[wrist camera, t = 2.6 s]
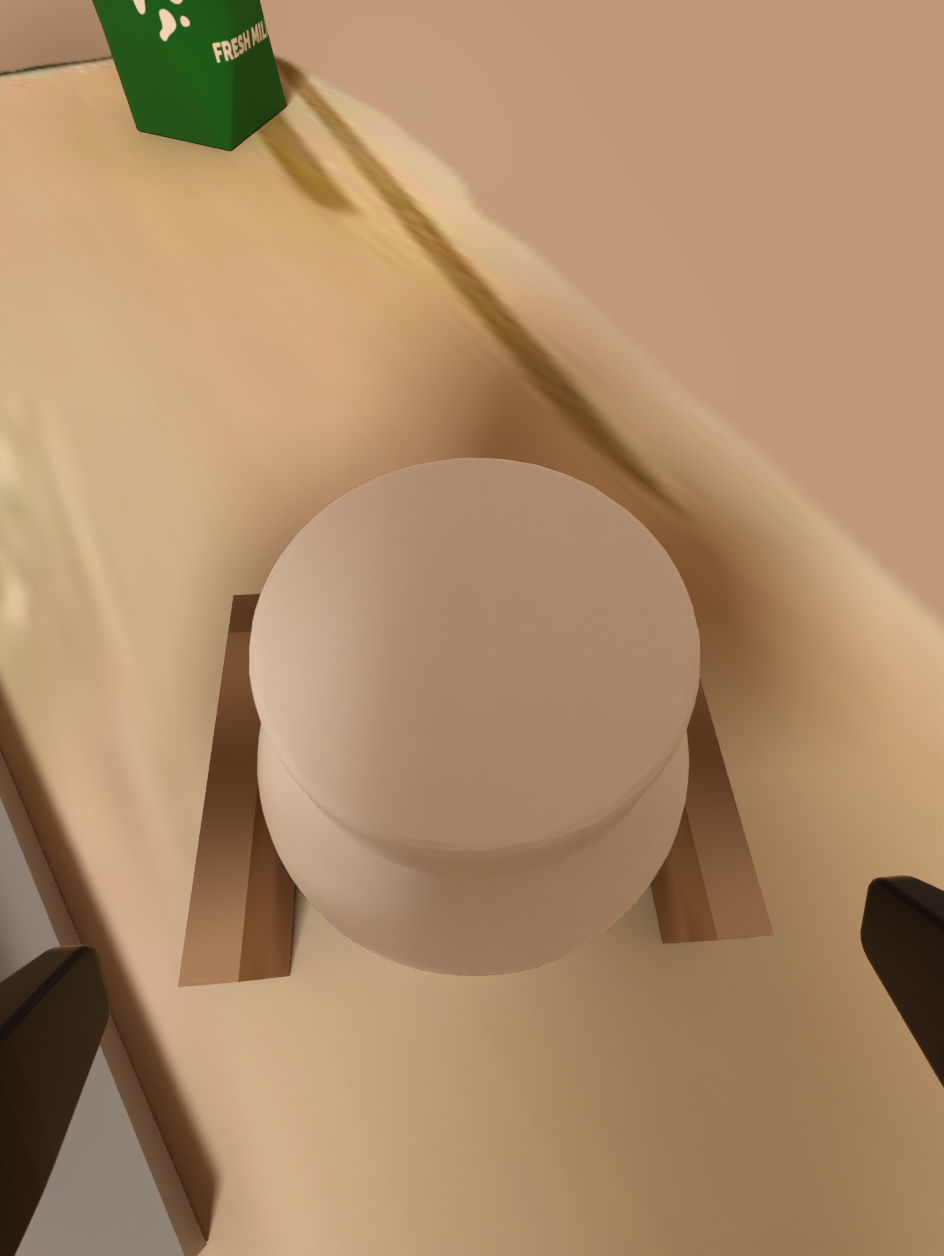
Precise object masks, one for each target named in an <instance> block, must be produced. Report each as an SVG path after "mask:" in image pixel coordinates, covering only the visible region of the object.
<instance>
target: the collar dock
mask: <svg viewBox="0 0 944 1256" xmlns="http://www.w3.org/2000/svg"><path fill="white" fill-rule="evenodd" d="M72 945H82V944H81V942H80V939H79V937H78V934H77V932H76V930H75V927H74V925H73V922H72V920H71V918H70V915H69V913H68V911H67V908H66V906H65V903H64V901H63V899H62V896H61V894H60V891H59V889H58V887H57V884H56V882H55V879H54V877H53V875H52V872H51V870H50V867H49V865H48V863H47V860H46V858H45V855H44V853H43V851H42V848H41V846H40V843H39V841H38V839H37V836H36V834H35V831H34V829H33V827H32V824H31V822H30V819H29V817H28V815H27V812H26V810H25V807H24V805H23V803H22V800H21V798H20V796H19V793H18V791H17V788H16V786H15V784H14V781H13V779H12V776H11V774H10V772H9V769H8V767H7V764H6V762H5V760H4V757H3V755H2V752H1V750H0V982H2V981H3V980H4V979H6V978H7V977H9V976H10V975H12V974H13V973H15V972H16V971H17V970H19V969H20V968H22V967H23V966H25V965H26V964H28V963H29V962H30V961H32V960H33V959H35V958H36V957H38V956H39V955H40V954H42V953H43V952H45V951H47V950H49V949H51V948H55V947H60V946H72ZM206 1245H207V1244H206V1241H205V1239H204V1236H203V1234H202V1232H201V1229H200V1227H199V1224H198V1222H197V1220H196V1217H195V1215H194V1212H193V1210H192V1208H191V1205H190V1203H189V1200H188V1198H187V1196H186V1193H185V1191H184V1188H183V1186H182V1184H181V1181H180V1179H179V1176H178V1174H177V1172H176V1169H175V1167H174V1164H173V1162H172V1160H171V1157H170V1155H169V1152H168V1150H167V1148H166V1145H165V1143H164V1141H163V1138H162V1136H161V1133H160V1131H159V1129H158V1126H157V1124H156V1121H155V1119H154V1117H153V1114H152V1112H151V1109H150V1107H149V1105H148V1102H147V1100H146V1097H145V1095H144V1093H143V1090H142V1088H141V1085H140V1083H139V1081H138V1078H137V1076H136V1073H135V1071H134V1069H133V1066H132V1064H131V1061H130V1059H129V1057H128V1054H127V1052H126V1049H125V1047H124V1045H123V1042H122V1040H121V1037H120V1035H119V1033H118V1030H117V1028H116V1026H115V1023H114V1021H113V1018H112V1016H111V1014H110V1015H109V1020H108V1024H107V1027H106V1030H105V1032H104V1035H103V1038H102V1040H101V1043H100V1046H99V1048H98V1051H97V1054H96V1056H95V1059H94V1062H93V1064H92V1067H91V1070H90V1072H89V1075H88V1078H87V1080H86V1083H85V1086H84V1088H83V1091H82V1094H81V1096H80V1099H79V1102H78V1104H77V1107H76V1110H75V1112H74V1115H73V1118H72V1120H71V1123H70V1126H69V1128H68V1131H67V1134H66V1136H65V1139H64V1142H63V1144H62V1147H61V1150H60V1152H59V1155H58V1158H57V1161H56V1163H55V1166H54V1168H53V1171H52V1173H51V1176H50V1178H49V1181H48V1183H47V1186H46V1188H45V1191H44V1193H43V1195H42V1197H41V1200H40V1202H39V1204H38V1206H37V1209H36V1211H35V1213H34V1215H33V1218H32V1220H31V1222H30V1224H29V1226H28V1229H27V1231H26V1233H25V1235H24V1237H23V1239H22V1241H21V1244H20V1246H19V1248H18V1250H17V1252H16V1254H15V1256H197V1255H198V1254H199V1253H200V1252H201V1250H202V1249H203V1248H204V1247H205V1246H206Z"/></svg>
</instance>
